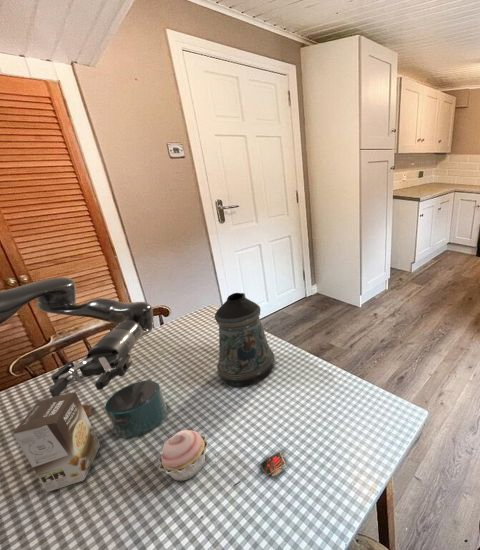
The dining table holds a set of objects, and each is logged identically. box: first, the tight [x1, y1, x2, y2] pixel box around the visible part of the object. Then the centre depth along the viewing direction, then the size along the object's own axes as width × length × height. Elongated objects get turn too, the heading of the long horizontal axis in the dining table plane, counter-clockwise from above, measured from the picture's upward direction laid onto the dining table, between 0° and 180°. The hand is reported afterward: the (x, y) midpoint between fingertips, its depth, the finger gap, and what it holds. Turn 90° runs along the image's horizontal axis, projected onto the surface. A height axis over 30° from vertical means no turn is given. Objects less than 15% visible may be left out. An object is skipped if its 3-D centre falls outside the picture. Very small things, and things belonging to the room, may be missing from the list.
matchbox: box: [260, 451, 286, 477], centre depth 66 cm, size 5×5×1 cm
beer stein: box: [214, 292, 275, 388], centre depth 91 cm, size 16×19×25 cm
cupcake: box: [157, 429, 209, 482], centre depth 64 cm, size 9×9×10 cm
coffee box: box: [12, 391, 101, 493], centre depth 63 cm, size 9×6×16 cm
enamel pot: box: [104, 379, 168, 439], centre depth 76 cm, size 11×14×8 cm
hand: (75, 390), depth 68 cm, fingers open, 8 cm apart
